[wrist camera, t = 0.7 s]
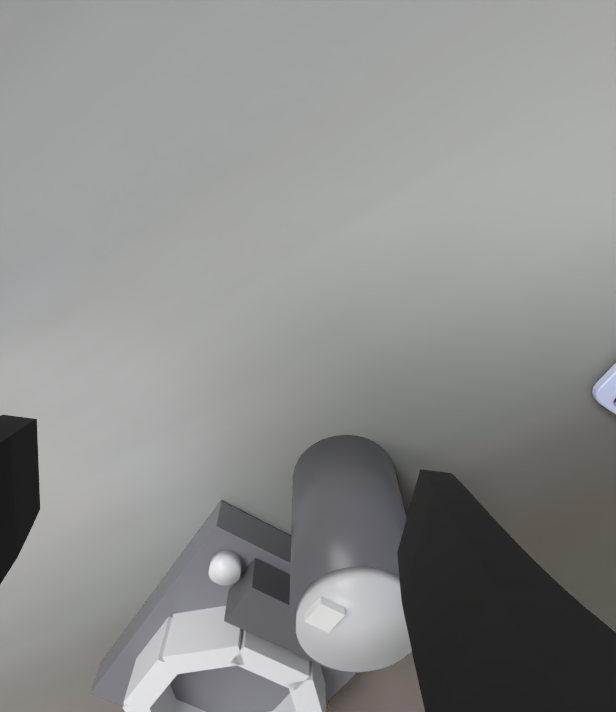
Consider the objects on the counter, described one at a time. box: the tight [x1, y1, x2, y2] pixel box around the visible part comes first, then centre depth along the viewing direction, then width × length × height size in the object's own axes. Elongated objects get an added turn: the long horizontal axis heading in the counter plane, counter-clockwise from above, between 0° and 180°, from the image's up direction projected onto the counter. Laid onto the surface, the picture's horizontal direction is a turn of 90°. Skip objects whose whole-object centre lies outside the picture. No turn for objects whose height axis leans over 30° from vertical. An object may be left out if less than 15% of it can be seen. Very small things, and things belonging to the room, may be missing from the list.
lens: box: [289, 435, 412, 672], centre depth 20 cm, size 4×4×7 cm
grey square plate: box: [90, 501, 357, 712], centre depth 25 cm, size 9×11×4 cm
